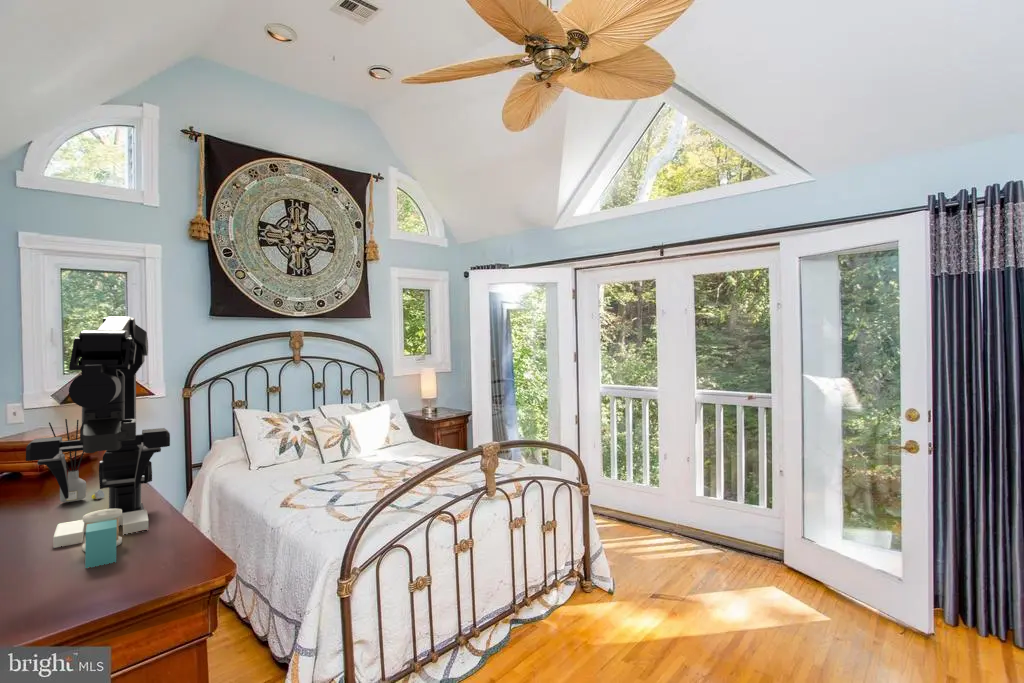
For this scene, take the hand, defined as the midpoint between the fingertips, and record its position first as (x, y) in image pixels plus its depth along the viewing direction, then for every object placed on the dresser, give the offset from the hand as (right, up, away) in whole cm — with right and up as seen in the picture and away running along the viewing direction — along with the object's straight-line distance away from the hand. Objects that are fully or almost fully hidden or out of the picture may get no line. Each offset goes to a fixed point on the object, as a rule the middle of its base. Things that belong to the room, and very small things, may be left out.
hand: (102, 493), depth 85 cm
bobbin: (-5, -12, +6) cm, 14 cm away
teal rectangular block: (0, -12, 0) cm, 12 cm away
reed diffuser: (-34, -13, +34) cm, 50 cm away
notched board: (-11, -12, +13) cm, 20 cm away
